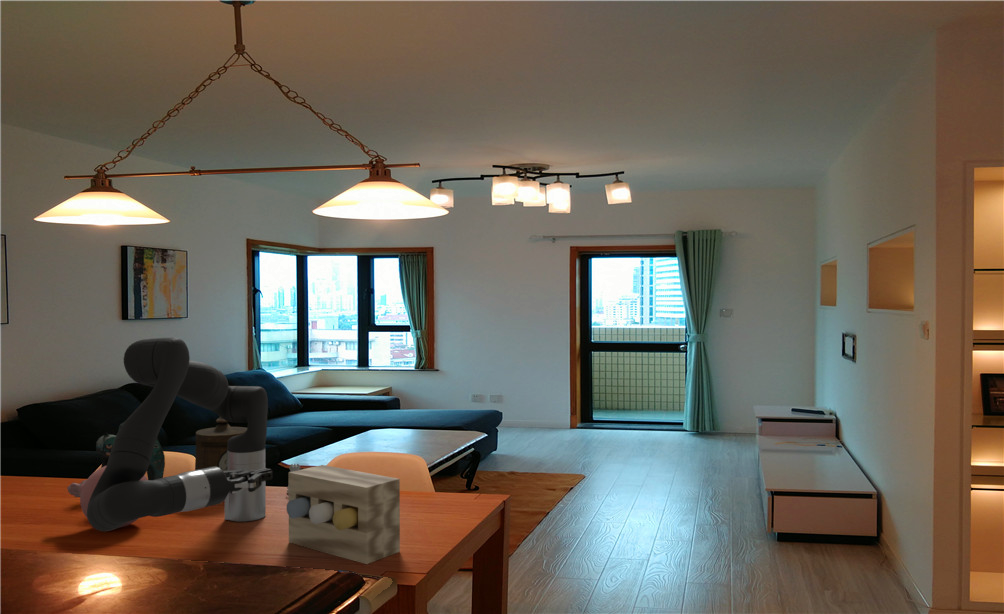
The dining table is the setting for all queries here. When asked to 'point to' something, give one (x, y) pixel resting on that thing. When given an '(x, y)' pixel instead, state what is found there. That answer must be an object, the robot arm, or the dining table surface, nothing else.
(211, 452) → the wooden container
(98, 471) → the balloon
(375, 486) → the block
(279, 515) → the dining table surface
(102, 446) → the ceramic cat
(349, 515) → the ochre button
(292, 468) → the rook chess piece
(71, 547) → the dining table surface
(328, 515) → the white button
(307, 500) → the slate button
